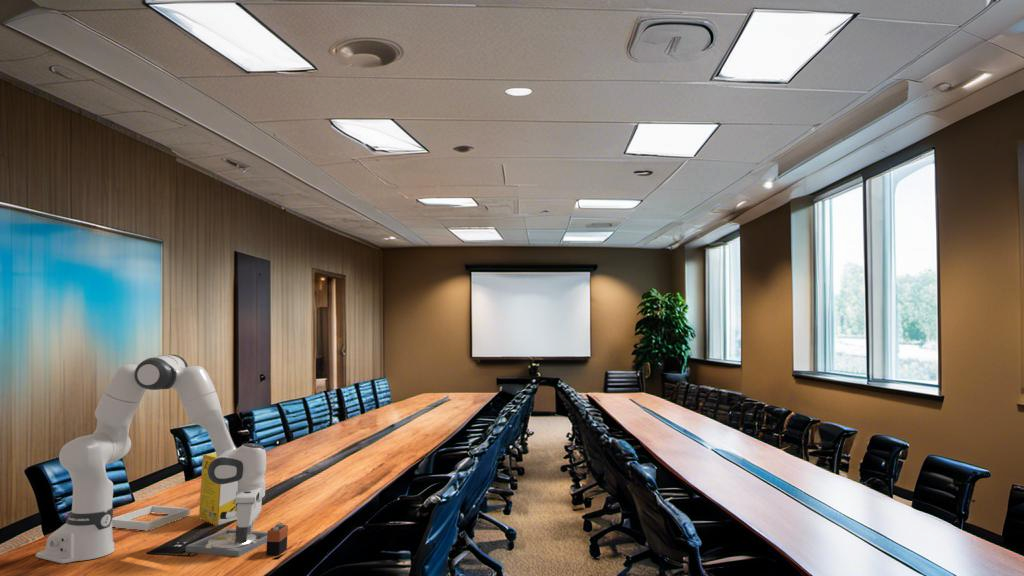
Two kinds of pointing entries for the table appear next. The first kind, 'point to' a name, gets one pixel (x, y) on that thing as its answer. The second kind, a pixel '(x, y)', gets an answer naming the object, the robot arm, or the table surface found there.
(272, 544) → the battery
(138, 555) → the table surface
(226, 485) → the packaging box
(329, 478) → the table surface
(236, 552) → the panel
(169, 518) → the light grey rectangular frame
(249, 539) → the dial
